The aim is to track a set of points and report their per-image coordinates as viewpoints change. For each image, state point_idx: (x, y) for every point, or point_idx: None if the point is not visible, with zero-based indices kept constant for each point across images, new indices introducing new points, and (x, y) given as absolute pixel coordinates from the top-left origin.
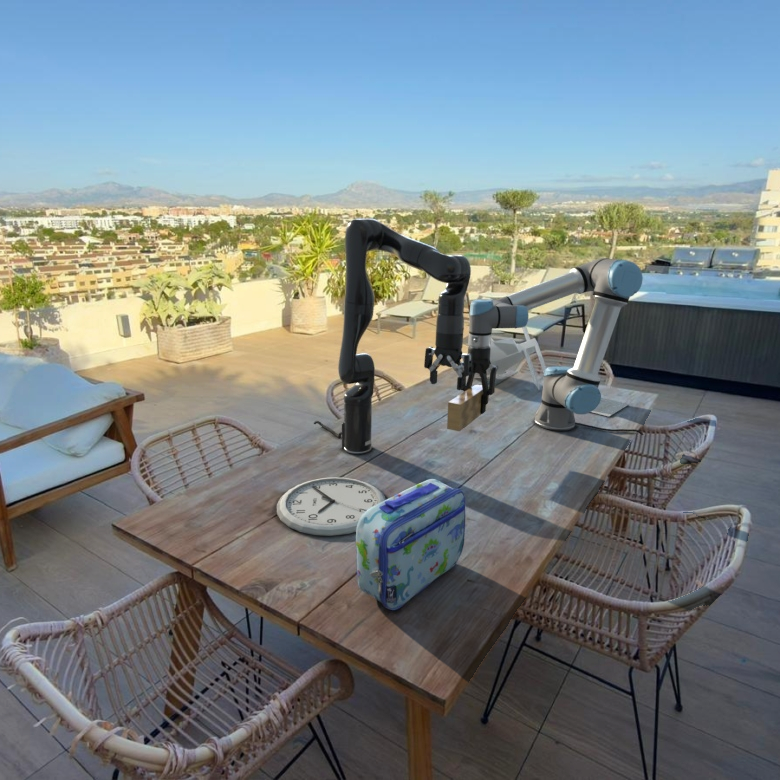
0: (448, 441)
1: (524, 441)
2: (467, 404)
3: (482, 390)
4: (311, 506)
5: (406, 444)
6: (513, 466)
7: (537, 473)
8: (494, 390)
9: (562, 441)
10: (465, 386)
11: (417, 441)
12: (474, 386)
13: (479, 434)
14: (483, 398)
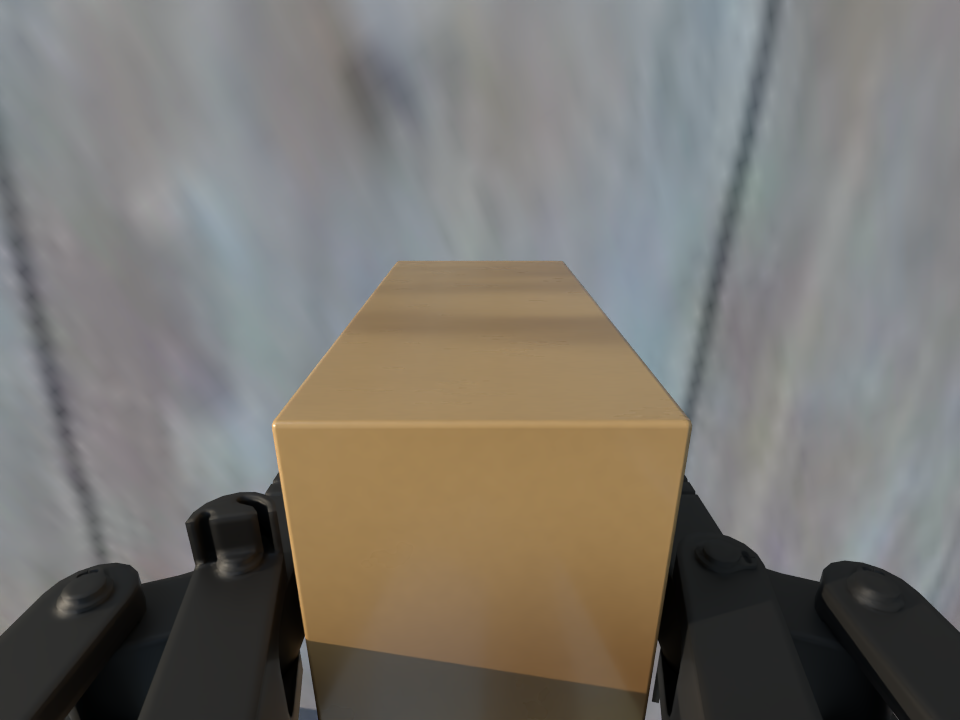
0: None
1: (838, 53)
2: None
3: (639, 712)
4: None
5: (151, 557)
6: (804, 502)
7: (940, 512)
8: (951, 632)
9: None
10: (129, 646)
11: (168, 491)
12: (349, 615)
13: (453, 125)
14: None
